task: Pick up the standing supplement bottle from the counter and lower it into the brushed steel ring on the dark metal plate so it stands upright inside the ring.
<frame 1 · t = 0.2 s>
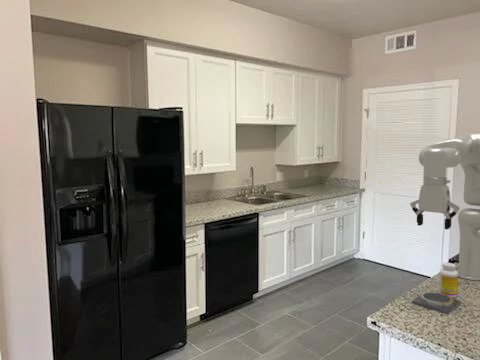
hand: (433, 226, 138), 30 cm above the countertop, tool pointing down, fingers open, 9 cm apart
supplement bottle: (448, 295, 149), on the countertop
ring plate: (436, 303, 141), on the countertop
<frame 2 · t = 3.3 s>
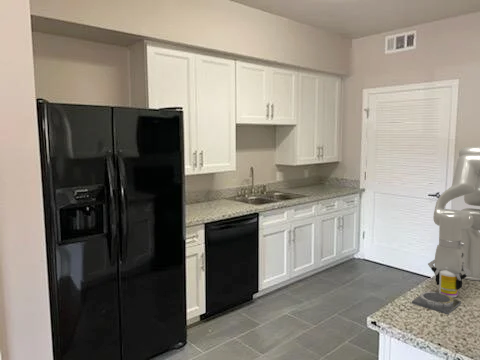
hand: (448, 286, 149), 4 cm above the countertop, tool pointing down, fingers closed on supplement bottle, 6 cm apart
supplement bottle: (448, 295, 149), on the countertop, touching gripper
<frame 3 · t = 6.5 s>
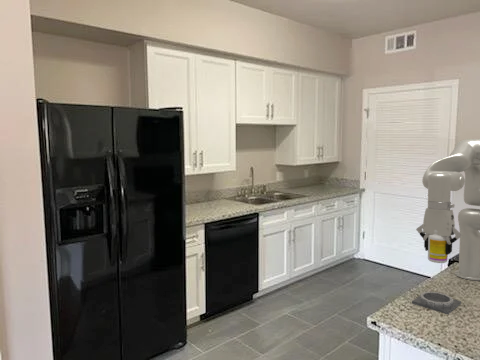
hand: (437, 251, 140), 21 cm above the countertop, tool pointing down, fingers closed on supplement bottle, 6 cm apart
supplement bottle: (437, 261, 140), point 17 cm above the countertop, touching gripper
when the fingers open (6 cm above the countertop, at t = 9.6 s): supplement bottle stays where it is, resting on ring plate.
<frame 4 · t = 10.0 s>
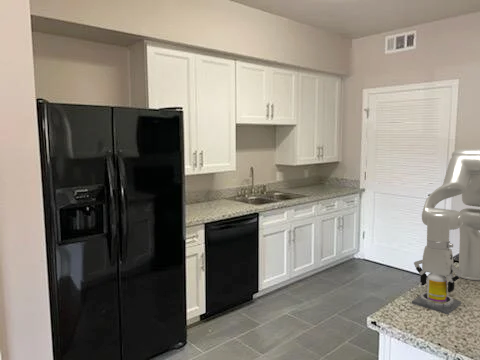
hand: (436, 287, 141), 6 cm above the countertop, tool pointing down, fingers open, 9 cm apart
supplement bottle: (436, 301, 141), point 1 cm above the countertop, touching ring plate
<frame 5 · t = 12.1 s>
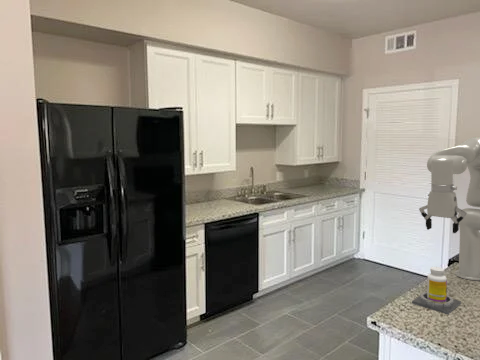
hand: (441, 230, 147), 27 cm above the countertop, tool pointing down, fingers open, 9 cm apart
nothing on the countertop moved.
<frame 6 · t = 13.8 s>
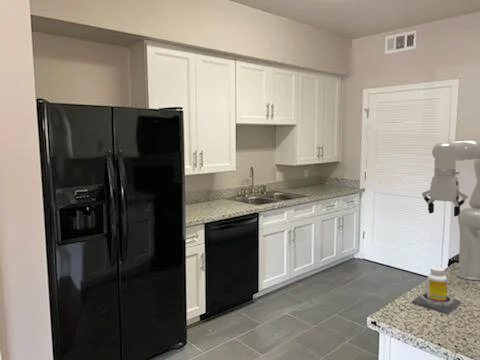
hand: (443, 214, 152), 32 cm above the countertop, tool pointing down, fingers open, 9 cm apart
nothing on the countertop moved.
at the end: supplement bottle 0.2 cm off-centre on the ring plate, point 0.8 cm above the ring plate's base; supplement bottle tilted 0°; the gripper is holding nothing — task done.
